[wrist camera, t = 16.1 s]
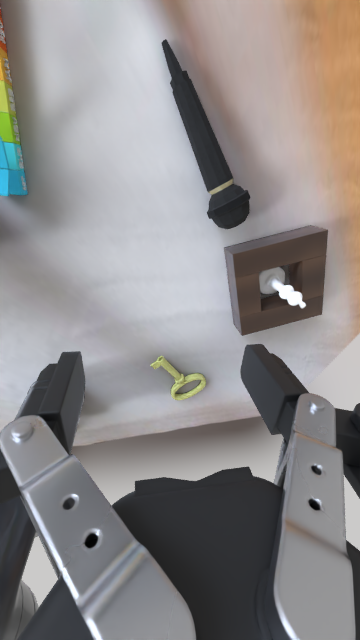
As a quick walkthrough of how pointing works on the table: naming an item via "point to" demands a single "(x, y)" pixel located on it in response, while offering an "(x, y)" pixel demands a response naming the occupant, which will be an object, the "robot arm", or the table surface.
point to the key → (180, 379)
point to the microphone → (207, 151)
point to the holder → (267, 253)
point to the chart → (9, 131)
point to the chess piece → (279, 286)
